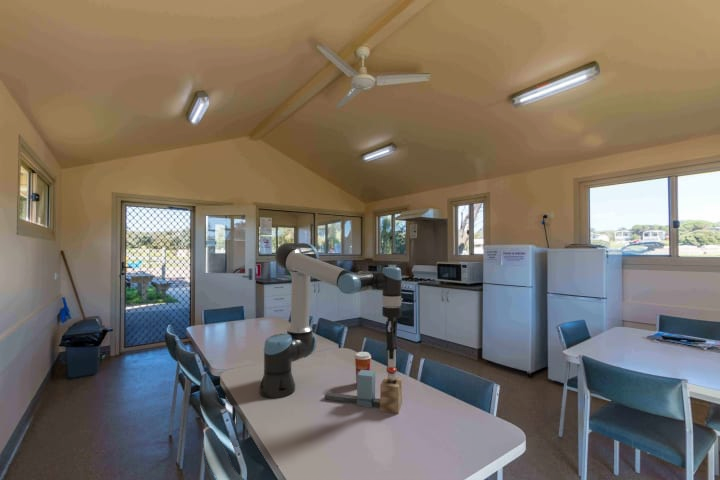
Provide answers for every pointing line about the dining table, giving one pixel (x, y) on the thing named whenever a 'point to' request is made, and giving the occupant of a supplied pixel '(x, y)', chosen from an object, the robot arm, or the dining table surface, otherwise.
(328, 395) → the rail
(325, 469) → the dining table surface
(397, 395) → the housing
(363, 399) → the block
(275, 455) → the dining table surface
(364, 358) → the paper cup
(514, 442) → the dining table surface
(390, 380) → the plunger
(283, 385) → the robot arm
